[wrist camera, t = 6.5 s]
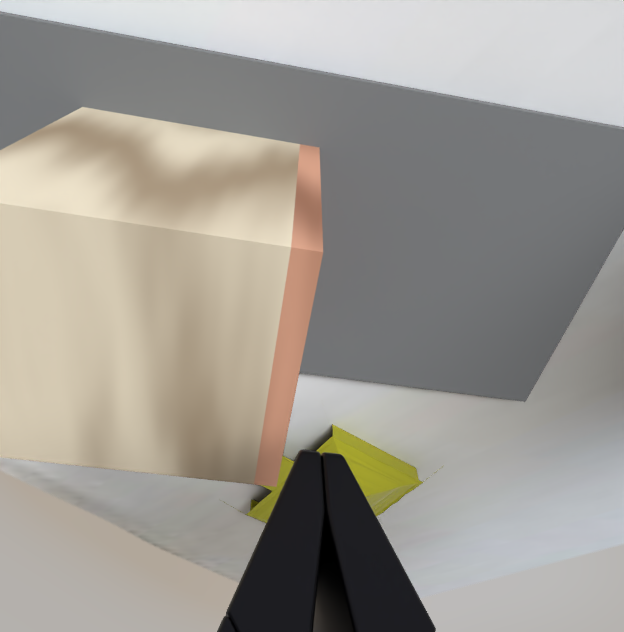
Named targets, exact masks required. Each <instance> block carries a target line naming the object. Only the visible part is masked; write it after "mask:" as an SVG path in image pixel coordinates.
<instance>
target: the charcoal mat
mask: <svg viewBox="0 0 624 632" xmlns="http://www.w3.org/2000/svg"><path fill="white" fill-rule="evenodd" d="M81 107H86V108H92V109H98V110H103V111H109V112H115V113H121V114H127V115H133V116H138V117H144V118H150V119H156V120H162V121H168V122H174V123H179V124H185V125H191V126H197V127H203V128H209V129H214V130H220V131H226V132H232V133H238V134H244V135H249V136H255V137H261V138H267V139H273V140H279V141H285V142H290V143H296V144H302V145H308V146H314V147H319V149H320V176H321V204H322V231H323V256H322V261H321V266H320V271H319V276H318V281H317V286H316V291H315V296H314V301H313V306H312V311H311V316H310V321H309V326H308V331H307V336H306V341H305V346H304V351H303V356H302V361H301V366H300V371H299V373H305V374H313V375H321V376H329V377H337V378H344V379H352V380H360V381H368V382H376V383H383V384H391V385H399V386H407V387H415V388H422V389H430V390H438V391H446V392H454V393H461V394H469V395H477V396H485V397H493V398H500V399H508V400H516V401H524V402H525V401H526V400H527V398H528V396H529V394H530V393H531V391H532V389H533V387H534V385H535V384H536V382H537V380H538V378H539V377H540V375H541V373H542V371H543V370H544V368H545V366H546V364H547V363H548V361H549V359H550V357H551V356H552V354H553V352H554V350H555V349H556V347H557V345H558V343H559V342H560V340H561V338H562V336H563V335H564V333H565V331H566V329H567V328H568V326H569V324H570V322H571V321H572V319H573V317H574V315H575V314H576V312H577V310H578V308H579V306H580V305H581V303H582V301H583V299H584V298H585V296H586V294H587V292H588V291H589V289H590V287H591V285H592V284H593V282H594V280H595V278H596V277H597V275H598V273H599V271H600V270H601V268H602V266H603V264H604V263H605V261H606V259H607V257H608V256H609V254H610V252H611V250H612V249H613V247H614V245H615V243H616V242H617V240H618V238H619V236H620V234H621V233H622V231H623V229H624V127H619V126H613V125H608V124H603V123H597V122H592V121H586V120H581V119H576V118H570V117H565V116H559V115H554V114H549V113H543V112H538V111H533V110H527V109H522V108H516V107H511V106H506V105H500V104H495V103H490V102H484V101H479V100H473V99H468V98H463V97H457V96H452V95H446V94H441V93H436V92H430V91H425V90H420V89H414V88H409V87H403V86H398V85H393V84H387V83H382V82H376V81H371V80H366V79H360V78H355V77H350V76H344V75H339V74H333V73H328V72H323V71H317V70H312V69H306V68H301V67H296V66H290V65H285V64H280V63H274V62H269V61H263V60H258V59H253V58H247V57H242V56H236V55H231V54H226V53H220V52H215V51H210V50H204V49H199V48H193V47H188V46H183V45H177V44H172V43H167V42H161V41H156V40H150V39H145V38H140V37H134V36H129V35H123V34H118V33H113V32H107V31H102V30H97V29H91V28H86V27H80V26H75V25H70V24H64V23H59V22H53V21H48V20H43V19H37V18H32V17H27V16H21V15H16V14H10V13H5V12H0V150H2V149H4V148H6V147H7V146H9V145H11V144H13V143H15V142H17V141H19V140H21V139H23V138H24V137H26V136H28V135H30V134H32V133H34V132H36V131H38V130H40V129H42V128H43V127H45V126H47V125H49V124H51V123H53V122H55V121H57V120H59V119H60V118H62V117H64V116H66V115H68V114H70V113H72V112H74V111H76V110H78V109H79V108H81Z"/></svg>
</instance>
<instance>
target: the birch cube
mask: <svg viewBox="0 0 624 632" xmlns="http://www.w3.org/2000/svg"><path fill="white" fill-rule="evenodd" d="M322 256H323V231H322V204H321V176H320V149H319V147H314V146H308V145H302V144H296V143H290V142H285V141H279V140H273V139H267V138H261V137H255V136H249V135H244V134H238V133H232V132H226V131H220V130H214V129H209V128H203V127H197V126H191V125H185V124H179V123H174V122H168V121H162V120H156V119H150V118H144V117H138V116H133V115H127V114H121V113H115V112H109V111H103V110H98V109H92V108H86V107H81V108H79V109H78V110H76V111H74V112H72V113H70V114H68V115H66V116H64V117H62V118H60V119H59V120H57V121H55V122H53V123H51V124H49V125H47V126H45V127H43V128H42V129H40V130H38V131H36V132H34V133H32V134H30V135H28V136H26V137H24V138H23V139H21V140H19V141H17V142H15V143H13V144H11V145H9V146H7V147H6V148H4V149H2V150H0V457H1V458H10V459H20V460H29V461H39V462H48V463H57V464H67V465H76V466H86V467H95V468H104V469H114V470H123V471H133V472H142V473H152V474H161V475H170V476H180V477H189V478H199V479H208V480H217V481H227V482H236V483H246V484H255V485H265V486H274V487H277V482H278V476H279V471H280V466H281V461H282V456H283V451H284V446H285V441H286V436H287V431H288V426H289V421H290V416H291V411H292V406H293V401H294V396H295V391H296V386H297V381H298V376H299V371H300V366H301V361H302V356H303V351H304V346H305V341H306V336H307V331H308V326H309V321H310V316H311V311H312V306H313V301H314V296H315V291H316V286H317V281H318V276H319V271H320V266H321V261H322Z"/></svg>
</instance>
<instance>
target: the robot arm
mask: <svg viewBox="0 0 624 632" xmlns="http://www.w3.org/2000/svg"><path fill="white" fill-rule="evenodd" d="M435 631H436V628H435V627H434V624H433V623H432V621H431V619H430V617H429V615H428V613H427V611H426V609H425V608H424V606H423V604H422V602H421V600H420V598H419V596H418V594H417V592H416V591H415V589H414V587H413V585H412V583H411V581H410V579H409V577H408V576H407V574H406V572H405V570H404V568H403V566H402V564H401V562H400V561H399V559H398V557H397V555H396V553H395V551H394V549H393V548H392V546H391V544H390V542H389V540H388V538H387V536H386V534H385V533H384V531H383V529H382V527H381V525H380V523H379V521H378V519H377V518H376V516H375V514H374V512H373V510H372V508H371V506H370V504H369V503H368V501H367V499H366V497H365V495H364V493H363V491H362V489H361V488H360V486H359V484H358V482H357V480H356V478H355V476H354V474H353V473H352V471H351V469H350V467H349V465H348V463H347V461H346V459H345V458H344V456H343V455H341V454H337V453H328V452H323V453H322V454H320V453H319V452H318V451H310V450H300V451H299V453H298V455H297V457H296V459H295V461H294V463H293V466H292V468H291V470H290V472H289V475H288V477H287V479H286V481H285V483H284V486H283V488H282V490H281V492H280V494H279V497H278V499H277V501H276V503H275V505H274V508H273V510H272V512H271V514H270V517H269V519H268V521H267V523H266V525H265V528H264V530H263V532H262V534H261V536H260V539H259V541H258V543H257V545H256V548H255V550H254V552H253V554H252V556H251V559H250V561H249V563H248V565H247V567H246V570H245V572H244V574H243V576H242V578H241V581H240V583H239V585H238V587H237V590H236V592H235V594H234V596H233V598H232V601H231V603H230V605H229V607H228V609H227V612H226V616H225V617H224V618H223V620H222V622H221V624H220V626H219V629H218V631H217V632H435Z"/></svg>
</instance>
